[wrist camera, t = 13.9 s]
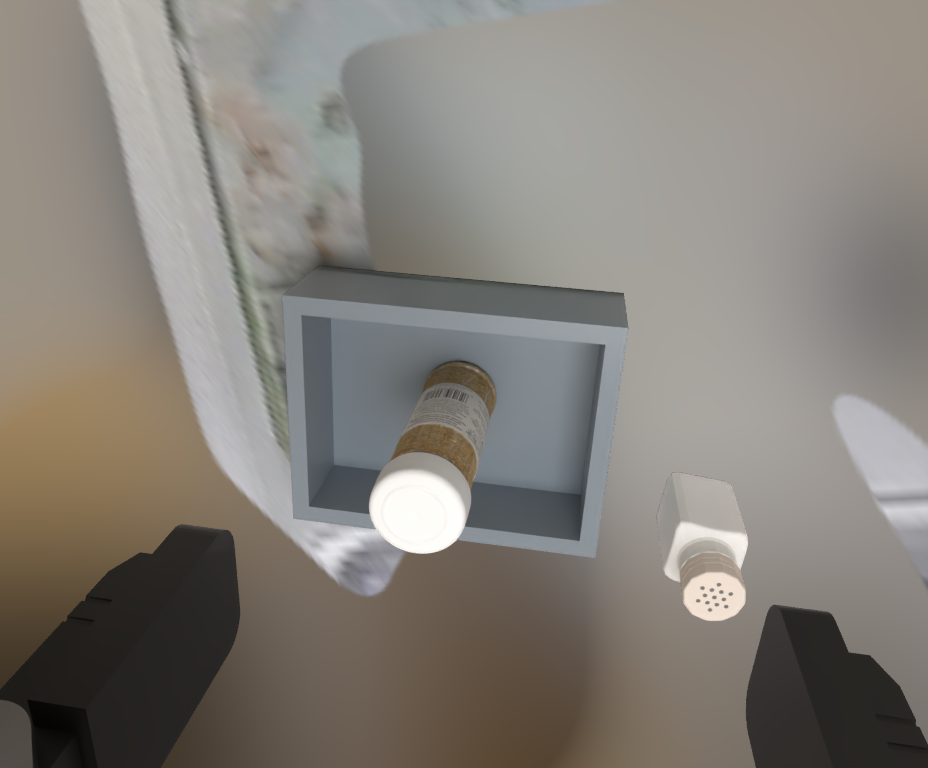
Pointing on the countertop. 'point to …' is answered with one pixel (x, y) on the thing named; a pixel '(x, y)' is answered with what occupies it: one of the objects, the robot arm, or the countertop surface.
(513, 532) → the tote
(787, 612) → the robot arm
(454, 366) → the spice jar
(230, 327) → the countertop surface
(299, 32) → the countertop surface
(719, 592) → the white bottle
